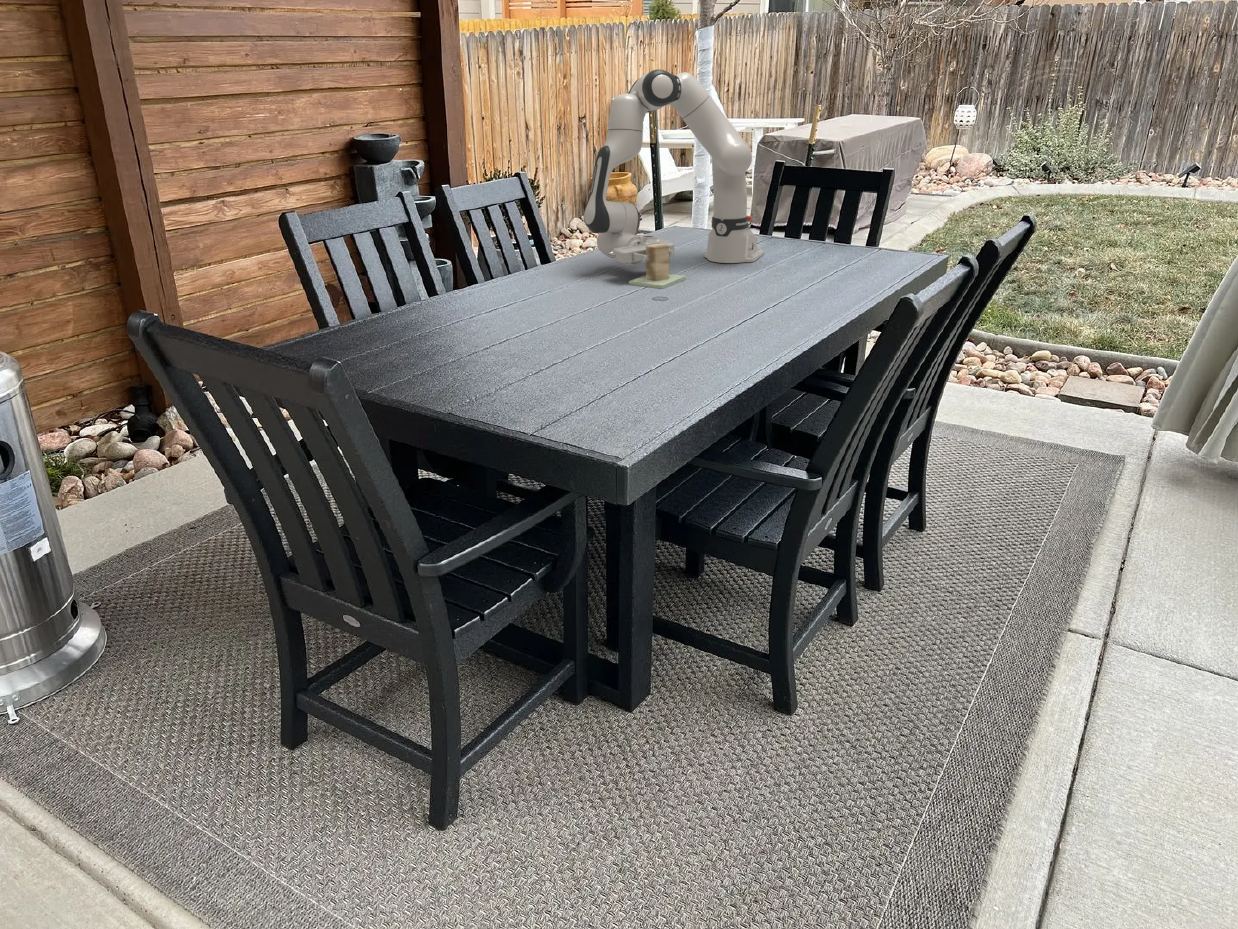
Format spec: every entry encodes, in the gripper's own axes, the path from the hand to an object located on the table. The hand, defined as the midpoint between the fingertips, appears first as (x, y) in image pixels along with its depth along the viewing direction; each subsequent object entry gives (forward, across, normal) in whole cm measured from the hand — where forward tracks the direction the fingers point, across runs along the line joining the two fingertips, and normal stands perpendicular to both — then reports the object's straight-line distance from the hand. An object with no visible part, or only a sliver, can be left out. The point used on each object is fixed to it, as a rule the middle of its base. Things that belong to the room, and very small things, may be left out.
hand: (659, 256), depth 280 cm
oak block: (-1, 0, +7) cm, 7 cm away
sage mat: (-1, 0, +8) cm, 8 cm away
